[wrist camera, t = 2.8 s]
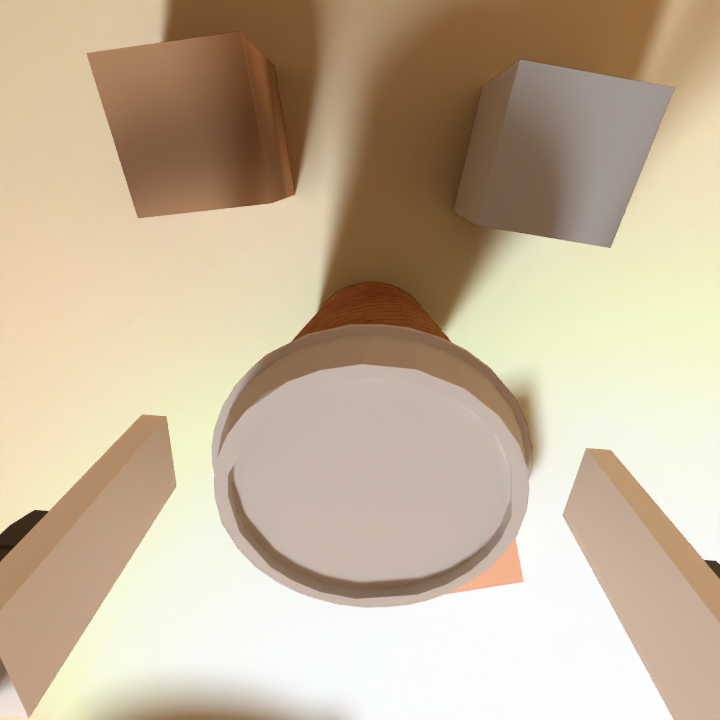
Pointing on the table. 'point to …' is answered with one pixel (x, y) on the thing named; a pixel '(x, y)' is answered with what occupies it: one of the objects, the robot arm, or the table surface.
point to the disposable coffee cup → (371, 457)
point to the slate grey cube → (558, 151)
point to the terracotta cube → (497, 572)
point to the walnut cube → (195, 124)
